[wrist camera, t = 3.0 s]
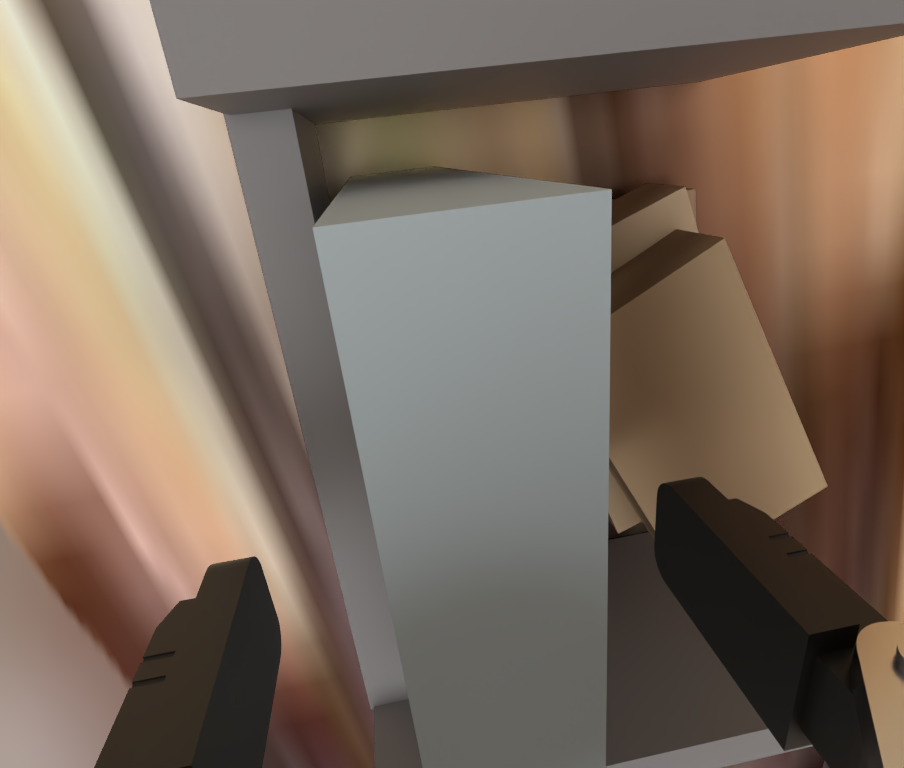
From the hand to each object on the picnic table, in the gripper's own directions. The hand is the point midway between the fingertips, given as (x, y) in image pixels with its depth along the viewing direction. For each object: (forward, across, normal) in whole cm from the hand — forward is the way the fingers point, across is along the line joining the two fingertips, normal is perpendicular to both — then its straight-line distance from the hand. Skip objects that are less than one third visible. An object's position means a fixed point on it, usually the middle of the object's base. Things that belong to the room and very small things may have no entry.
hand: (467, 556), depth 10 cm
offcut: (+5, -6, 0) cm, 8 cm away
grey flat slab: (+9, 0, 0) cm, 9 cm away
